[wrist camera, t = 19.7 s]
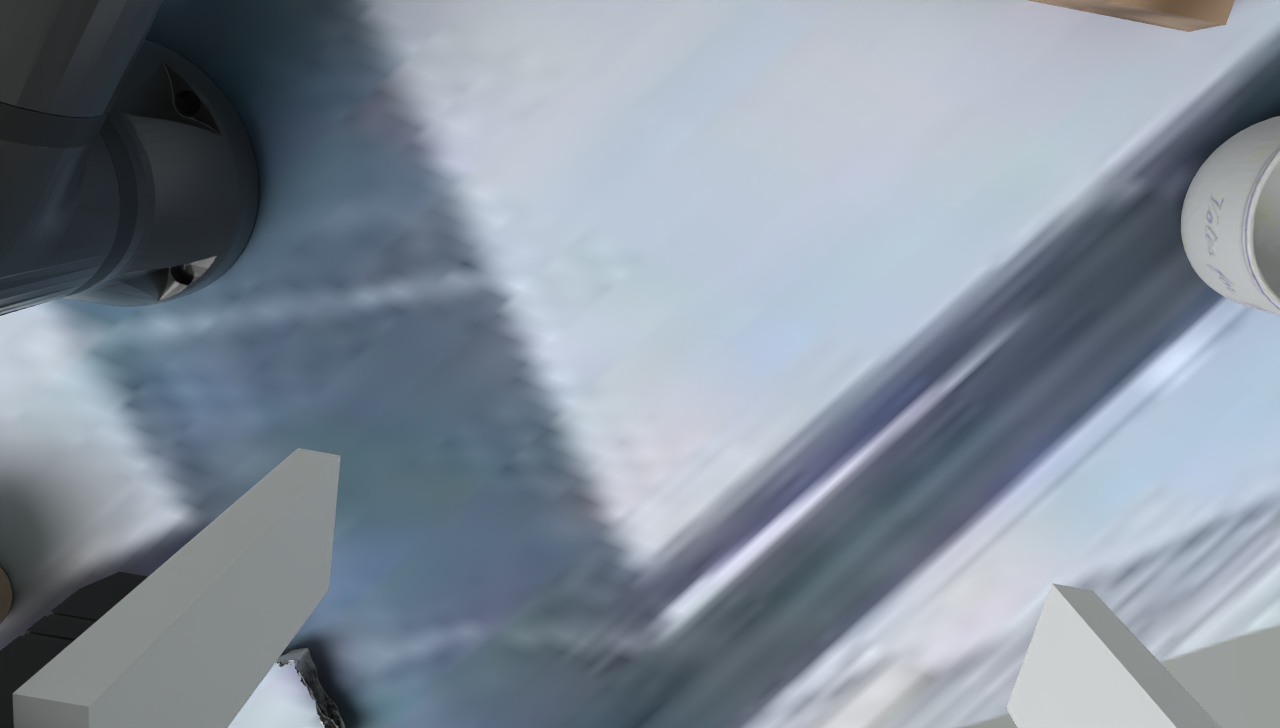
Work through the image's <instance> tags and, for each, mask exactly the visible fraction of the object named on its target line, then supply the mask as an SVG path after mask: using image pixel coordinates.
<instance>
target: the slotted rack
mask: <svg viewBox="0 0 1280 728" xmlns="http://www.w3.org/2000/svg"><path fill="white" fill-rule="evenodd" d="M1030 1H1035V2H1040V3H1045V4H1050V5H1055V6H1060V7H1066V8H1071V9H1076V10H1081V11H1086V12H1091V13H1096V14H1101V15H1106V16H1112V17H1117V18H1122V19H1127V20H1132V21H1137V22H1142V23H1147V24H1152V25H1158V26H1163V27H1168V28H1173V29H1178V30H1183V31H1188V32H1190V31H1195V30H1200V29H1205V28H1210V27H1215V26H1220V25H1226V23H1227V20H1228V17H1229V14H1230V12H1231V9H1232V6H1233V3H1234V0H1030Z"/></svg>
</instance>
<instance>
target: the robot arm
mask: <svg viewBox="0 0 1280 728" xmlns="http://www.w3.org/2000/svg"><path fill="white" fill-rule="evenodd" d="M163 1H164V0H0V316H1V315H4V314H8V313H11V312H15V311H18V310H21V309H25V308H28V307H32V306H35V305H39V304H42V303H45V302H49V301H52V300H55V299H59V298H67V299H73V300H80V301H86V302H93V303H99V304H105V305H112V306H146V305H153V304H158V303H163V302H166V301H169V300H172V299H175V298H178V297H181V296H184V295H188V294H191V293H193V292H195V291H198V290H200V289H202V288H204V287H206V286H207V285H209V284H211V283H212V282H214V281H215V280H216V279H218V278H219V277H220V276H221V275H223V274H224V273H225V272H226V271H227V270H228V269H229V268H230V267H231V266H232V264H233V263H234V262H235V261H236V259H237V258H238V257H239V255H240V254H241V252H242V251H243V249H244V247H245V245H246V243H247V242H248V239H249V237H250V235H251V232H252V229H253V226H254V222H255V218H256V214H257V208H258V198H259V182H258V172H257V165H256V160H255V156H254V152H253V148H252V145H251V142H250V139H249V137H248V134H247V132H246V130H245V127H244V125H243V123H242V121H241V119H240V117H239V116H238V114H237V112H236V111H235V109H234V107H233V106H232V104H231V103H230V101H229V100H228V99H227V97H226V96H225V95H224V93H223V92H222V91H221V90H220V89H219V87H218V86H217V85H216V84H215V83H214V82H213V81H212V80H211V79H210V78H209V77H208V76H207V75H206V74H205V73H204V72H203V71H201V70H200V69H199V68H198V67H197V66H195V65H194V64H193V63H191V62H190V61H189V60H187V59H186V58H184V57H183V56H181V55H179V54H178V53H176V52H174V51H172V50H171V49H168V48H166V47H164V46H162V45H160V44H157V43H155V42H152V41H149V40H146V39H145V38H146V36H147V34H148V32H149V30H150V28H151V26H152V24H153V22H154V19H155V17H156V15H157V13H158V11H159V9H160V7H161V5H162V3H163ZM339 466H340V456H339V455H333V454H328V453H322V452H317V451H311V450H305V449H300V448H298V449H296V450H295V451H294V452H293V453H292V454H291V455H289V456H288V457H287V458H286V459H285V460H284V461H282V462H281V463H280V464H279V465H278V466H277V467H276V468H274V469H273V470H272V471H271V472H270V473H269V474H267V475H266V476H265V477H264V478H263V479H262V480H260V481H259V482H258V483H257V484H256V485H255V486H253V487H252V488H251V489H250V490H249V491H248V492H246V493H245V494H244V495H243V496H242V497H241V498H239V499H238V500H237V501H236V502H235V503H234V504H232V505H231V506H230V507H229V508H228V509H227V510H225V511H224V512H223V513H222V514H221V515H220V516H219V517H217V518H216V519H215V520H214V521H213V522H212V523H210V524H209V525H208V526H207V527H206V528H205V529H203V530H202V531H201V532H200V533H199V534H198V535H196V536H195V537H194V538H193V539H192V540H191V541H189V542H188V543H187V544H186V545H185V546H184V547H182V548H181V549H180V550H179V551H178V552H177V553H175V554H174V555H173V556H172V557H171V558H170V559H169V560H167V561H166V562H165V563H164V564H163V565H162V566H160V567H159V568H158V569H157V570H156V571H155V572H153V573H152V574H151V575H150V576H149V577H147V576H141V575H135V574H130V573H124V572H118V573H115V574H113V575H111V576H108V577H106V578H104V579H101V580H99V581H97V582H94V583H92V584H90V585H87V586H85V587H83V588H81V589H79V590H78V591H76V592H75V593H74V594H73V595H71V596H70V597H69V598H67V599H66V600H65V601H64V602H62V603H61V604H60V605H58V606H57V607H56V608H55V609H53V610H52V611H51V612H50V615H49V616H48V617H46V616H44V617H43V618H42V619H40V620H39V621H38V622H37V623H35V624H34V625H33V626H31V627H30V628H29V629H28V630H26V633H25V635H24V636H19V637H17V638H16V639H15V640H14V641H12V642H11V643H10V644H8V645H7V646H6V647H5V648H3V649H2V650H1V651H0V728H227V727H228V726H229V725H230V723H231V722H232V721H233V719H234V718H235V717H236V715H237V714H238V712H239V711H240V710H241V708H242V707H243V706H244V704H245V703H246V702H247V700H248V699H249V698H250V696H251V695H252V693H253V692H254V691H255V689H256V688H257V687H258V685H259V684H260V683H261V681H262V680H263V678H264V677H265V676H266V674H267V673H268V672H269V670H270V669H271V668H272V666H273V665H274V663H275V662H276V661H277V659H278V658H279V657H280V655H281V654H282V653H283V651H284V650H285V648H286V647H287V646H288V644H289V643H290V642H291V640H292V639H293V638H294V636H295V635H296V634H297V632H298V631H299V629H300V628H301V627H302V625H303V624H304V623H305V621H306V620H307V619H308V617H309V616H310V614H311V613H312V612H313V610H314V609H315V608H316V606H317V605H318V604H319V602H320V601H321V599H322V598H323V597H324V595H325V594H326V593H327V591H328V590H329V582H330V570H331V559H332V547H333V536H334V524H335V513H336V501H337V490H338V478H339ZM1006 709H1007V710H1008V712H1009V714H1010V715H1011V717H1012V719H1013V720H1014V722H1015V724H1016V725H1017V727H1018V728H1221V727H1220V726H1219V725H1218V724H1217V723H1216V721H1215V720H1214V719H1213V718H1212V717H1211V716H1210V715H1209V714H1208V713H1207V712H1206V711H1205V710H1204V709H1203V708H1202V707H1201V706H1200V704H1199V703H1198V702H1197V701H1196V700H1195V699H1194V698H1193V697H1192V696H1191V695H1190V694H1189V693H1188V692H1187V691H1186V690H1185V688H1184V687H1183V686H1182V685H1181V684H1180V683H1179V682H1178V681H1177V680H1176V679H1175V678H1174V677H1173V676H1172V675H1171V674H1170V673H1169V671H1167V669H1166V668H1165V667H1164V666H1163V665H1162V664H1161V663H1160V662H1159V661H1158V660H1157V659H1156V658H1155V657H1154V655H1153V654H1152V653H1151V652H1150V651H1149V650H1148V649H1147V648H1146V647H1145V646H1144V645H1143V644H1142V643H1141V642H1140V641H1139V640H1138V638H1137V637H1136V636H1135V635H1134V634H1133V633H1132V632H1131V631H1130V630H1129V629H1128V628H1127V627H1126V626H1125V625H1124V624H1123V622H1122V621H1121V620H1120V619H1119V618H1118V617H1117V616H1116V615H1115V614H1114V613H1113V612H1112V611H1111V610H1110V609H1109V608H1108V606H1107V605H1106V604H1105V603H1104V602H1103V601H1102V600H1101V599H1100V598H1099V597H1098V596H1097V595H1096V594H1095V593H1094V592H1093V591H1091V590H1086V589H1080V588H1074V587H1069V586H1063V585H1058V584H1052V585H1051V588H1050V591H1049V593H1048V596H1047V599H1046V602H1045V604H1044V607H1043V610H1042V612H1041V615H1040V618H1039V621H1038V623H1037V626H1036V629H1035V632H1034V634H1033V637H1032V640H1031V643H1030V645H1029V648H1028V651H1027V654H1026V656H1025V659H1024V662H1023V665H1022V667H1021V670H1020V673H1019V676H1018V678H1017V681H1016V684H1015V687H1014V689H1013V692H1012V695H1011V697H1010V700H1009V703H1008V706H1007V708H1006Z"/></svg>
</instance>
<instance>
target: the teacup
mask: <svg viewBox="0 0 1280 728" xmlns="http://www.w3.org/2000/svg"><path fill="white" fill-rule="evenodd" d="M1181 234H1182V241H1183V245H1184V249H1185V252H1186V255H1187V257H1188V259H1189V261H1190V263H1191V265H1192V267H1193V268H1194V270H1195V271H1196V273H1197V274H1198V275H1199V276H1200V278H1201V279H1202V280H1203V281H1204V282H1205V283H1206V284H1207V285H1209V286H1210V287H1211V288H1212V289H1214V290H1215V291H1216V292H1218V293H1219V294H1221V295H1223V296H1224V297H1226V298H1228V299H1230V300H1232V301H1235V302H1237V303H1240V304H1243V305H1245V306H1249V307H1252V308H1255V309H1258V310H1262V311H1266V312H1270V313H1274V314H1278V315H1280V116H1277V117H1273V118H1270V119H1267V120H1265V121H1262V122H1259V123H1256V124H1254V125H1252V126H1250V127H1248V128H1246V129H1244V130H1242V131H1240V132H1239V133H1237V134H1236V135H1234V136H1232V137H1231V138H1229V139H1228V140H1227V141H1225V142H1224V143H1223V144H1222V145H1221V146H1219V147H1218V148H1217V149H1216V150H1215V151H1214V152H1213V153H1212V154H1211V155H1210V156H1209V157H1208V159H1207V160H1206V161H1205V162H1204V163H1203V164H1202V166H1201V167H1200V169H1199V170H1198V172H1197V173H1196V175H1195V177H1194V178H1193V180H1192V182H1191V184H1190V186H1189V189H1188V191H1187V194H1186V197H1185V200H1184V204H1183V209H1182V216H1181Z"/></svg>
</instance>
